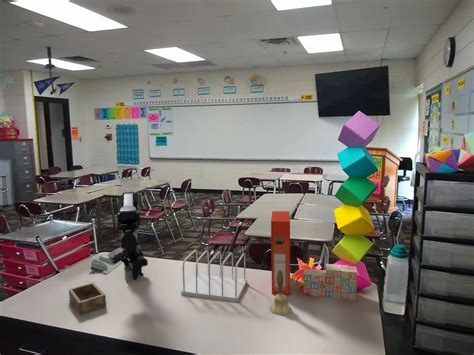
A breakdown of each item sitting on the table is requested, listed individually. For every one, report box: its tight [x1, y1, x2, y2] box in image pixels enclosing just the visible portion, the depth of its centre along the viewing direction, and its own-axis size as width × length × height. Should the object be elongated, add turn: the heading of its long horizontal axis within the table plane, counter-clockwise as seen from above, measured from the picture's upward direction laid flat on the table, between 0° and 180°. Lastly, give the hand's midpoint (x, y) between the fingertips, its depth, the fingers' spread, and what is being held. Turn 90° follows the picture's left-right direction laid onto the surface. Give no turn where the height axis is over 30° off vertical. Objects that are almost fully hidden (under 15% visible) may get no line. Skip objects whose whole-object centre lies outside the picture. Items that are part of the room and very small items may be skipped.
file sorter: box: [180, 249, 248, 303], centre depth 151 cm, size 25×17×16 cm
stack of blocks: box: [302, 263, 358, 301], centre depth 144 cm, size 21×6×12 cm, turn 74°
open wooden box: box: [68, 281, 107, 316], centre depth 140 cm, size 10×15×5 cm, turn 39°
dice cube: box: [123, 266, 140, 285], centre depth 139 cm, size 5×5×5 cm
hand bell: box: [269, 270, 292, 316], centre depth 133 cm, size 8×8×16 cm
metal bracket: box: [87, 255, 123, 275], centre depth 177 cm, size 14×6×15 cm
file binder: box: [270, 210, 291, 296], centre depth 152 cm, size 8×17×32 cm, turn 172°
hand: (132, 277), depth 139 cm, fingers closed on dice cube, 5 cm apart
